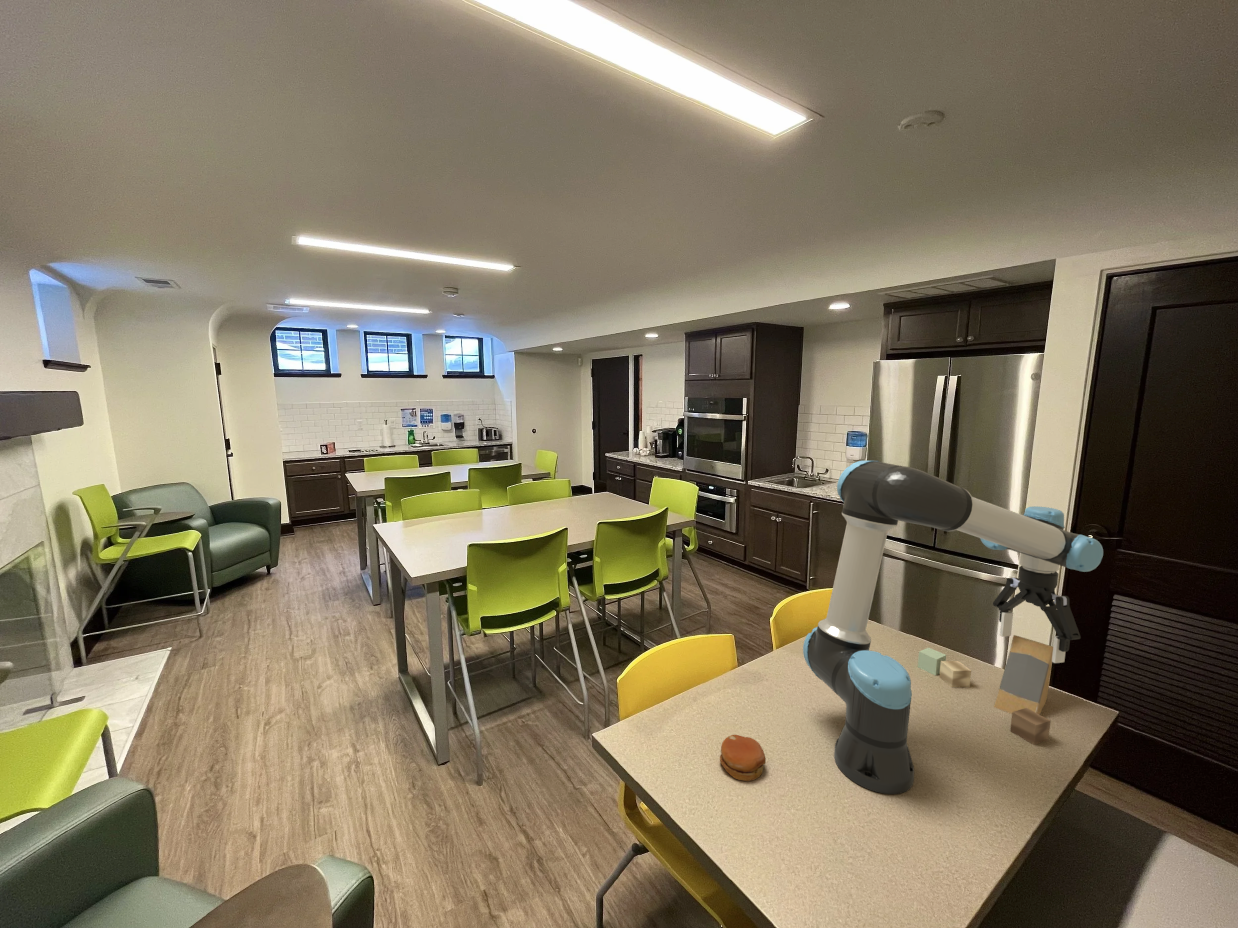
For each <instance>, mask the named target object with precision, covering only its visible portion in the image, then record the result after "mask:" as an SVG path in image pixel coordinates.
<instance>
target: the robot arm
mask: <svg viewBox="0 0 1238 928" xmlns="http://www.w3.org/2000/svg"><path fill="white" fill-rule="evenodd" d="M836 485H837V486H836V490H837V495H838V496H839V499H840V500H841V501H842V502H843V505H842V511H841V515H842V517H843V518H844V520H845V522H846V526H845V531H844V536H843V539H842V545H841V548H840V554H839V559H838V563H837V568H836V571H835V572H836V573H835V576H834V581H833V586H832V592H831V595H830V598H829V599H830V600H829V603H828V605H829V606H828V609H827V614H826V618H824V619H821V620H819V622H818V623H817V626H816V627H814V628H813V629H812V630H811V632H808V633H807V635H806V637H805V639H804V641H803V646H802V654H803V659H804V661H805V663H806V664H807V666H808V668H809V669H811V671H812V673H814V675H815V676H816V677H817V678H818V679H819V680H821V682H823V683H824V684H825V685H827V687H828V688H829V689H830V690H832V691H833V692H834V693H835V694H836V695H837V696H838V697H839V698H840V699H841V700H842V701H843V702H844V703H845V722H844V725H843V728H842V730H841V733H840V735H839V737H838V738H837V739H836V741H835V745H834V750H833V751H834V753H833V757H834V762H835V764H836V766H837V767H838V769H839V770H840V771H841V772H842V774H843V775H844V776H846V777H847V778H848V779H850V780H851V781H852V782H853V783H855V784H856V785H859V786H861V787H863V788H865V789H867V790H870V791H873V792H876V793H879V794H884V795H885V794H886V795H899V794H902V793H906V792H907V791H910V789H911V788H912V786H913V785H914V782H915V781H914V780H915V767H914V763H913V759H912V756H911V753H910V752H911V751H910V749H909V745H908V733H909V723H910V721H909V720H910V713H911V704H912V702H911V701H912V695H913V694H912V692H913V691H912V680H911V676H910V674H909V672H908V671H907V669H906V668H905V667H904V666H903V665H902V664H901V663H900V662H899V661H898V660H896V659H894V658H893V657H891V656H889V655H886V654H885V655H883V654H882V653H881V652H878V651H874V650H870V649H871V648H870V647H871V643H872V638H871V636H870V635H869V633H868V632H867V627H868V626H867V625H868V621H869V618H870V613H871V608H872V603H873V600H874V594H875V590H876V587H877V581H878V577H879V572H880V568H881V563H882V559H883V555H884V550H885V547H886V546H885V545H886V541H887V536H888V532H889V531H891V530H892V529H894V528H895V527H897V526H898V523H899V522H905V523H908V524H909V523H910V524H915V525H921V526H925V527H930V528H933V529H938V530H940V531H942V532H943V531H944V532H955V531H959V532H961V533H964V534H967V535H970V536H972V537H973V536H974V537H976V538H978V539H979V540H980V541H981V543H982V544H983V545H984V546H985V547H986V548H987V549H991V550H993V551H995V550H998V551H1005V550H1009V551H1012V552H1017V553H1019V554H1020V555H1019V563H1018V564H1019V565H1020V566H1019V568H1018V577H1008V578H1007V579H1006V583H1005V585H1004V586H1003V588H1002V589H1001V591H1000V592H999V594H998V595H997V596H996V598H995V599H994V601H993V602H992V606H994V607H996V608H997V609H998V610H999V618H998V620H999V623H1000V629H999V636H1000V637H1011V636H1012V628H1013V620H1014V619H1013V618H1014V612H1013V609H1015V608H1016V607H1017V606H1019V605H1021V604H1022V603H1023V602H1025V603H1029V604H1032V605H1033V606H1036V607H1039V609H1040V610H1041V611H1042V612H1043V613H1044V614H1045V616H1046V617H1047V619H1048V620H1049V622H1050V624H1051V626H1052V628H1053V629H1054V631H1055V633H1056V634H1057V635H1055V636H1054V639H1053V645H1052V647H1053V655H1052V664H1060V663H1061V664H1062V663H1065V659H1066V652H1069V650H1070V646H1071V645H1070V643H1071V641H1073V640H1080V639H1081V638H1082V637H1081V633H1080V632H1079V628H1078V626H1077V624H1076V623H1077V622H1076V621H1075V618H1074V615H1073V613H1072V609H1071V605H1070V597H1069V596H1068V595H1059V594H1056V591H1055V590H1056V588H1057V586H1058V582H1059V573H1058V571H1059V569H1060V567H1063V568H1067V569H1068V570H1069V569H1070V570H1075V571H1079V572H1084V573H1085V572H1086V573H1087V572H1091V571H1093V570H1096V569H1097V567H1098V566H1099V565H1100V564H1101V562H1102V560H1103V556H1104V549H1103V545H1102V544H1101V543H1100V541H1098V539H1095V538H1092V537H1090V536H1086V535H1083V534H1078V533H1073V532H1071V531H1068V530H1065V528H1066V527H1065V513H1064V512H1063V511H1062V510H1060V509H1057V508H1053V507H1047V506H1028V507H1026V508H1025V510H1024V513H1023V514H1021V513H1018V512H1015V511H1013V510H1009V509H1008V508H1007V509H1006V508H1004V507H1001V506H998V505H997V504H993V503H990V502H988V501H985V500H982V499H979V498H976V497H974V496H972V495H971V493H970V492H969V490H967V489H966V488H964V487H961V486H958V485H956V484H953V483H951V482H949V481H946V480H944V479H941V478H940V477H937V476H936V475H933V474H930V473H928V472H926V471H923V470H921V469H917V468H914V467H911V466H903V465H898V464H894V463H889V462H888V463H887V462H882V461H879V460H859V461H856V462H854V463H851V464H850V465H848V466H847V467H846V468H845V469H844V470H843V471H842V473H841V474H840V476H839V478H838V481H837V484H836ZM1017 589H1018V590H1019V592H1017V593H1016V594H1015V595H1014V596H1013V597H1012V595H1013V594H1014V593H1015V591H1016V590H1017ZM1011 597H1012V598H1011Z"/></svg>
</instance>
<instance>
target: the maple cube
mask: <svg viewBox="0 0 1238 928" xmlns="http://www.w3.org/2000/svg"><path fill="white" fill-rule="evenodd" d="M971 676H972V670H971V669H970V668H969V667H967V666H966V665H965V664H963V663H962V662H960V661H959V660H946V661H941V665H940V674H939V679H940V680H942V681H943V682H944V683H945V684H946V685H948V686H949V687H950V688H953V689H954V687H955V689H957V688H970V686H971V678H972V677H971ZM956 687H957V688H956Z"/></svg>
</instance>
